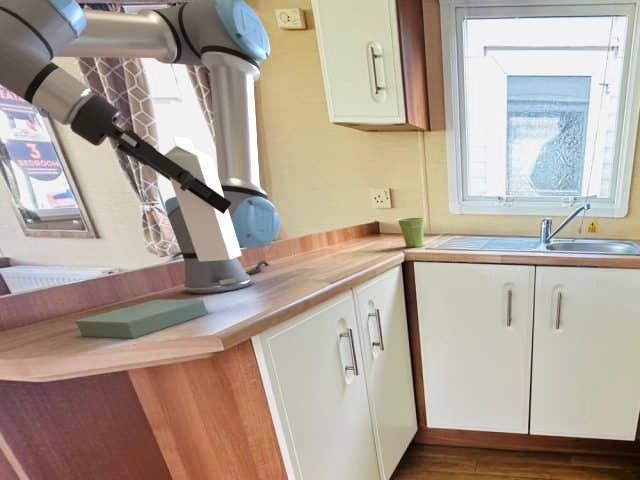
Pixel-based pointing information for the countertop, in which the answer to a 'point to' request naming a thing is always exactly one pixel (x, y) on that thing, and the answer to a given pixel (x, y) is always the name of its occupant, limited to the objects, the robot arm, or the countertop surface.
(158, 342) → the countertop surface
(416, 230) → the plant pot
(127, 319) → the sage green flat tile
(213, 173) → the milk
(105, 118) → the robot arm
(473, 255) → the countertop surface
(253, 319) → the countertop surface
